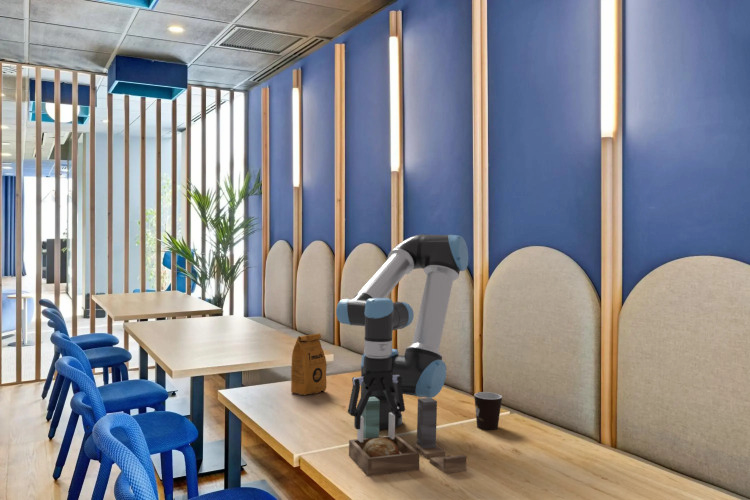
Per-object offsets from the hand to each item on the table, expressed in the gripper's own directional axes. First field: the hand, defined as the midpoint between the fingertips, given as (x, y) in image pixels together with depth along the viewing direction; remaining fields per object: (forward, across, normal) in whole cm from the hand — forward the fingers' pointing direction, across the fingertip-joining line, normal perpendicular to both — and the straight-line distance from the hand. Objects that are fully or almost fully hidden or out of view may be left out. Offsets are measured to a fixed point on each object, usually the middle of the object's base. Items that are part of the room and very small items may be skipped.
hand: (375, 439), depth 166 cm
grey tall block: (+4, +15, -2) cm, 16 cm away
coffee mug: (+5, +43, +14) cm, 46 cm away
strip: (+5, +15, -13) cm, 20 cm away
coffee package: (+4, -1, +69) cm, 69 cm away
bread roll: (+5, 0, -5) cm, 7 cm away
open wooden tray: (+5, 0, -3) cm, 5 cm away
